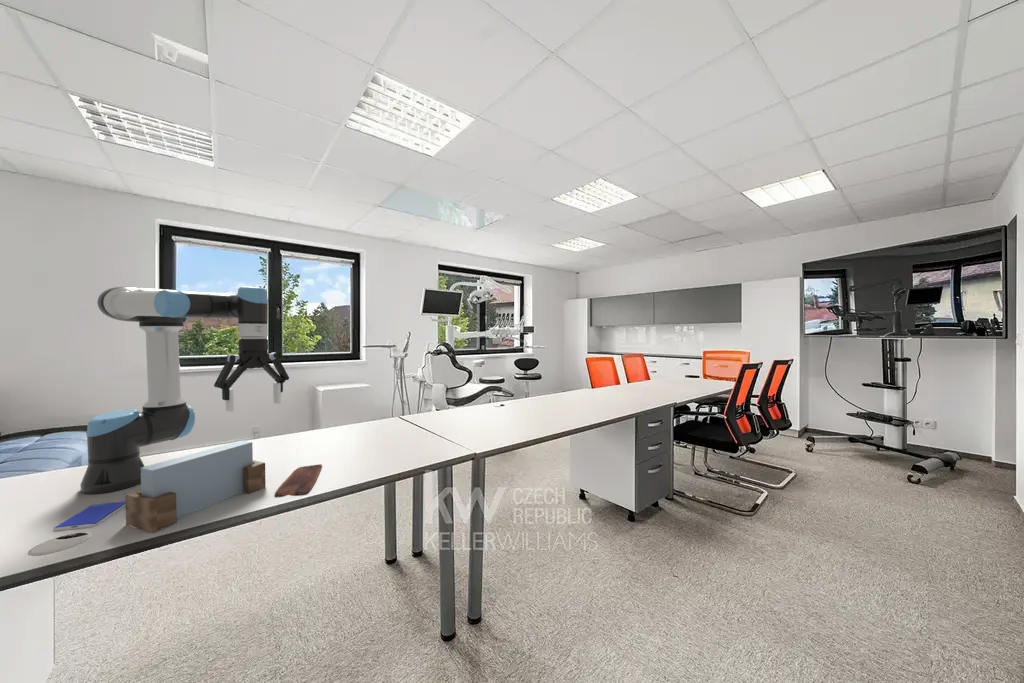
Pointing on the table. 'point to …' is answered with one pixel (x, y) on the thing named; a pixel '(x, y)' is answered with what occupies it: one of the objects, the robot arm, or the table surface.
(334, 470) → the table surface
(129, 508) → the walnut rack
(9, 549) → the table surface
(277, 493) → the wooden tablet
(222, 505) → the table surface
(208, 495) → the slate panel
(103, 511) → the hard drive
